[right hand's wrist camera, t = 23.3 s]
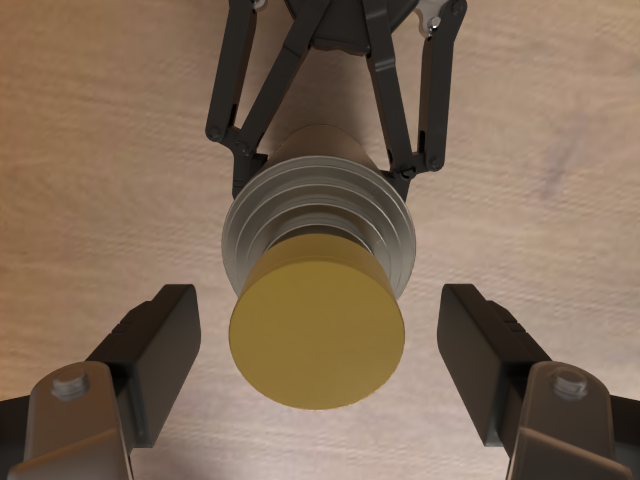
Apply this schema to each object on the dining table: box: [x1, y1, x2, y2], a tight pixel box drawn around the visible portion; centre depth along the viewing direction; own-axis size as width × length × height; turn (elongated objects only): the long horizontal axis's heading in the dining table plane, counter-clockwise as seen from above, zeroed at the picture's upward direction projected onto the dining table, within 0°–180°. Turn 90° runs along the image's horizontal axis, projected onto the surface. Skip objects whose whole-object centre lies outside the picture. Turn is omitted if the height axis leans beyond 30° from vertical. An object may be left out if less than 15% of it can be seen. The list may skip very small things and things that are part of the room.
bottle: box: [222, 124, 416, 301], centre depth 21 cm, size 8×8×23 cm
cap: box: [229, 234, 405, 411], centre depth 11 cm, size 4×4×2 cm
